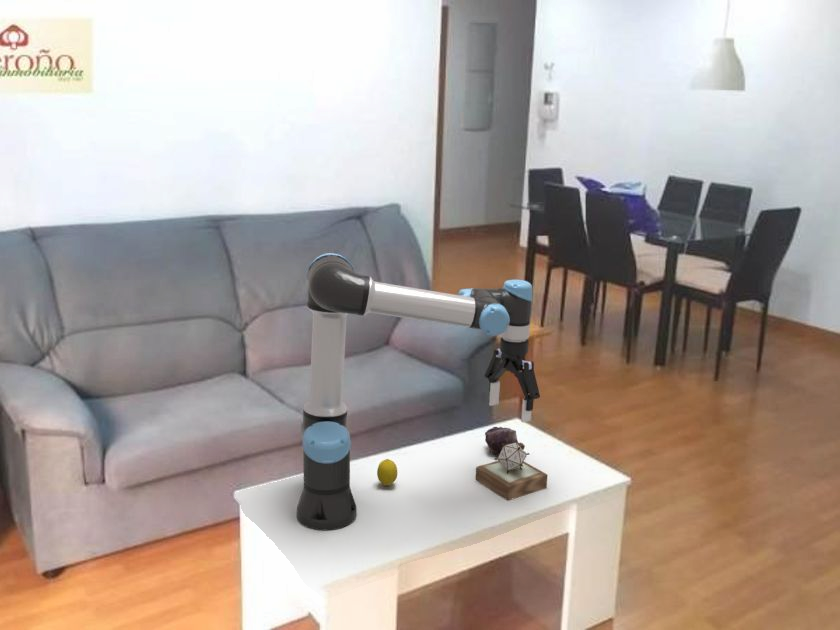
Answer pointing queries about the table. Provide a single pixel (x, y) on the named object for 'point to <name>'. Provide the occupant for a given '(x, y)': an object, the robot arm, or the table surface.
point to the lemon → (387, 472)
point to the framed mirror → (511, 479)
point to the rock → (500, 438)
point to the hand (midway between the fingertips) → (509, 412)
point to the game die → (512, 456)
